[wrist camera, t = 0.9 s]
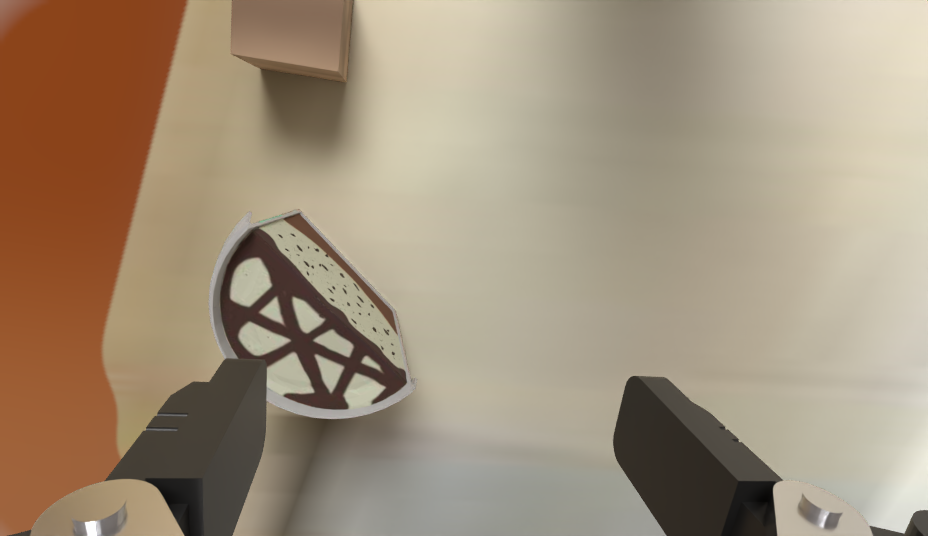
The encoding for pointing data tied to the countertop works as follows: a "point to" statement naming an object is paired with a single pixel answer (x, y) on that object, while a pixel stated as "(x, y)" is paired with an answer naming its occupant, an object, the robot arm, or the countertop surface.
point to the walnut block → (294, 36)
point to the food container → (306, 320)
